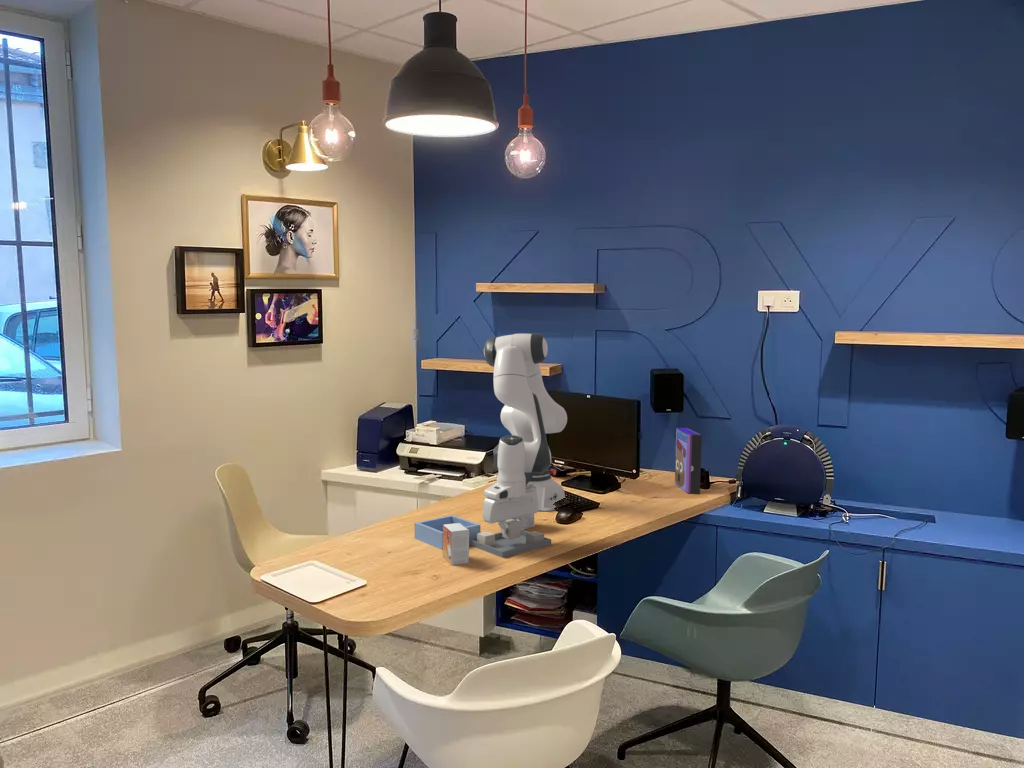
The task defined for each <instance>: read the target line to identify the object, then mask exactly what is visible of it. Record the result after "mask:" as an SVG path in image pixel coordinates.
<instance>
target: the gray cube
mask: <svg viewBox="0 0 1024 768" xmlns="http://www.w3.org/2000/svg"><path fill="white" fill-rule="evenodd" d="M529 532H530V533H526V545H528V544H532V543H536V542H540V541H544V537H545V533H541V532H539V531H537V530H536V531H529Z"/></svg>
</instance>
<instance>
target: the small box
mask: <svg viewBox="0 0 1024 768" xmlns="http://www.w3.org/2000/svg"><path fill="white" fill-rule="evenodd" d="M442 558H443V559H444V561H446V562H447V563H448V564H449V566H450V567H451V566H455V565H462V564H469V563H470V543H469V530H468V529H467V528H465V527H464V526H463V525H462V524H461V523H455V524H445V525H443V550H442Z"/></svg>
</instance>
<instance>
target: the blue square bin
mask: <svg viewBox="0 0 1024 768" xmlns="http://www.w3.org/2000/svg"><path fill="white" fill-rule="evenodd" d="M455 523H461V524H462V525H463V526H464V527H465V528H467V529H468V530H469V544H470V539H474V538H477V533H481V524H480V523H476V522H474V521H471V520H468V519H465V518H463V517H460V516H457V515H454V514H450V515H446V516H445V515H444V516H442V517H437V518H431V519H427V520H422V521H417V522H414V540H417V541H420V542H423V543H425V544H427V545H429V546H432V547H434V548H437V549H439V550H442V551H443V525H445V524H455Z"/></svg>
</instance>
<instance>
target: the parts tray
mask: <svg viewBox="0 0 1024 768" xmlns="http://www.w3.org/2000/svg"><path fill="white" fill-rule="evenodd" d="M530 532H531V531H528V530H525V529H523V530H522V529H521V530H520V537H519V538H515V539H511V540H510V539H508V538H505V537H502V533H501V531H500V532H497V533H494V534H495V545H493V546H488V545H485V544H482V543H480V542H477V538H474V539H470V543H469V546H471V547H474V548H476V549H479V550H481V551H484V552H487V553H489V554H491V555H494V556H496V557H499V558H501V559H502V558H506V557H510V556H514V555H518V554H522V553H527V552H529V551H533V550H537V549H540V548H544V547H549V546H551V545H552V539H551V538H548V537H545V536H544V541H540V542H536V543H532V544H528V545H526V533H530Z"/></svg>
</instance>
